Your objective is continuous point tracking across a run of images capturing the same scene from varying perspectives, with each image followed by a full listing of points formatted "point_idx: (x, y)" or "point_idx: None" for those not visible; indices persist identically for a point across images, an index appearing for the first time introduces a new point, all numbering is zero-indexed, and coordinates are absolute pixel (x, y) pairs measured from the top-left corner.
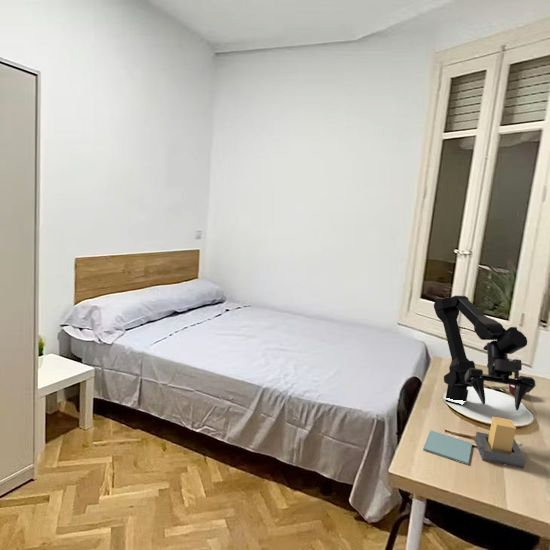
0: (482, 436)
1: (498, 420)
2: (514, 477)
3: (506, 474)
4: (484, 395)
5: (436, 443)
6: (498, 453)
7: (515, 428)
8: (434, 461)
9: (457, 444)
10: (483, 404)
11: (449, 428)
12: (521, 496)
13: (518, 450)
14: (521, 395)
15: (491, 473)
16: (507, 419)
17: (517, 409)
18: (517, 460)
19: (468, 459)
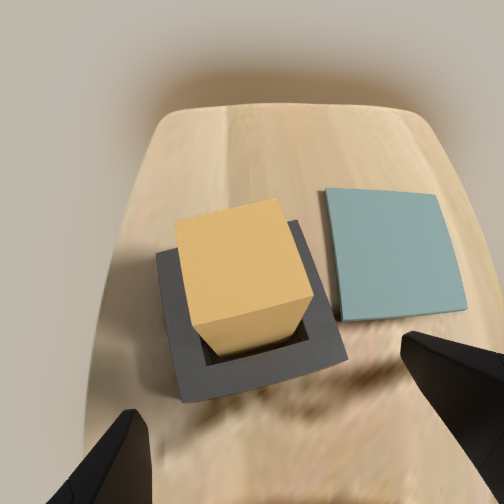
0: (319, 330)
1: (273, 259)
2: (198, 206)
3: (220, 207)
4: (451, 354)
5: (427, 237)
6: None
7: (177, 221)
8: (393, 167)
9: (382, 272)
10: (405, 349)
11: None
12: (192, 146)
13: (171, 301)
14: (60, 502)
15: (260, 189)
16: (216, 315)
17: (134, 409)
18: None
19: (330, 204)
